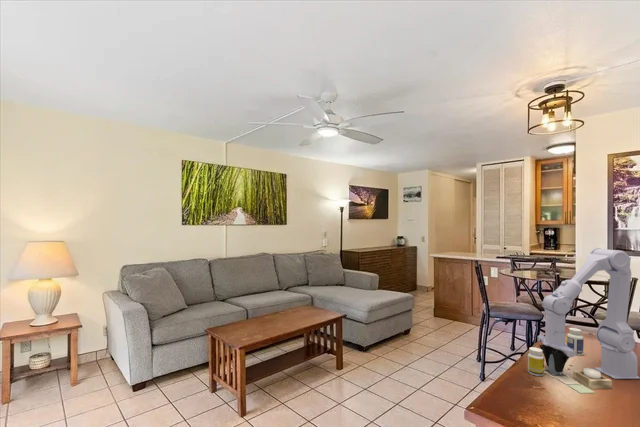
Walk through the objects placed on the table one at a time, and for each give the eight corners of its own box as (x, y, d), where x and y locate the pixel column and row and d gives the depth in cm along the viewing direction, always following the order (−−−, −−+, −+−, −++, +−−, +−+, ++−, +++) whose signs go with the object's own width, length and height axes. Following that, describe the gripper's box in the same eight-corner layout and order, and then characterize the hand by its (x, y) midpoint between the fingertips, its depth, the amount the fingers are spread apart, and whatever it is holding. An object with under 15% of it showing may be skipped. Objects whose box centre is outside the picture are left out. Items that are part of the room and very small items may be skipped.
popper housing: (592, 378, 114) (592, 370, 115) (611, 388, 108) (611, 380, 108) (573, 378, 114) (573, 370, 114) (591, 388, 107) (591, 380, 107)
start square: (556, 368, 121) (556, 368, 121) (570, 377, 115) (570, 376, 115) (539, 369, 121) (539, 368, 121) (552, 377, 114) (552, 376, 114)
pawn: (555, 370, 120) (555, 351, 120) (562, 375, 116) (563, 355, 116) (546, 370, 119) (546, 351, 119) (553, 375, 116) (553, 355, 116)
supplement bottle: (546, 377, 114) (546, 352, 115) (531, 375, 115) (531, 351, 116) (540, 371, 119) (540, 347, 119) (525, 369, 120) (525, 346, 120)
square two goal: (581, 385, 109) (581, 384, 109) (595, 393, 104) (595, 392, 104) (567, 385, 109) (567, 384, 109) (580, 393, 104) (580, 392, 104)
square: (568, 377, 115) (568, 376, 115) (580, 384, 110) (580, 383, 110) (554, 377, 115) (554, 376, 115) (566, 384, 110) (566, 383, 110)
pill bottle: (582, 352, 137) (582, 328, 137) (584, 357, 133) (584, 332, 133) (566, 349, 140) (566, 326, 140) (567, 353, 135) (567, 329, 136)
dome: (592, 376, 113) (592, 367, 113) (604, 382, 109) (604, 373, 109) (580, 376, 113) (580, 367, 113) (591, 382, 108) (591, 374, 108)
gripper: (530, 323, 125) (529, 360, 125) (560, 337, 110) (559, 379, 110) (548, 323, 125) (547, 360, 125) (580, 337, 111) (580, 378, 111)
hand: (554, 369), depth 118 cm, fingers closed on pawn, 3 cm apart
